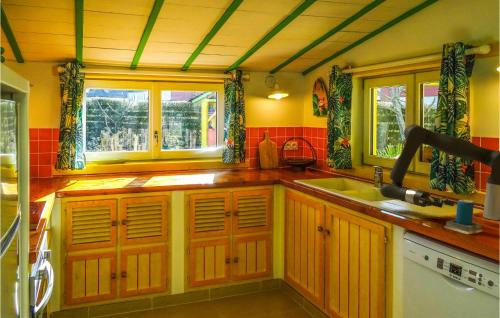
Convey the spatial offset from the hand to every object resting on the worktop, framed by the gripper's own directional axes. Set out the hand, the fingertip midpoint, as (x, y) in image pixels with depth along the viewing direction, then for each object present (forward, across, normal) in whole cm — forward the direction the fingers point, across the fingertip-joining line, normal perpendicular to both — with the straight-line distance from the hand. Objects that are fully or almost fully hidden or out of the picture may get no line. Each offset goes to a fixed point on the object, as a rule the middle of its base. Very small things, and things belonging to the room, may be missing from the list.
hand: (447, 204), depth 197 cm
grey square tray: (+8, 0, +9) cm, 13 cm away
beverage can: (+8, 0, +9) cm, 12 cm away
